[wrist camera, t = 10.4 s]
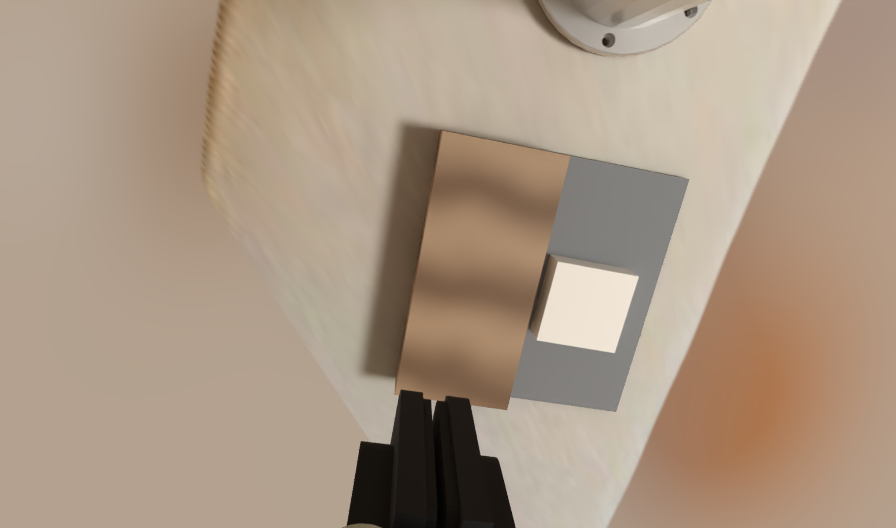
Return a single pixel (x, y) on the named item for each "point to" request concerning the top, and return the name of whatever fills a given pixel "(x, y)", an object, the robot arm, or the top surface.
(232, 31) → the top surface
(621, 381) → the mat
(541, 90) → the top surface
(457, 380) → the board
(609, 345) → the block
